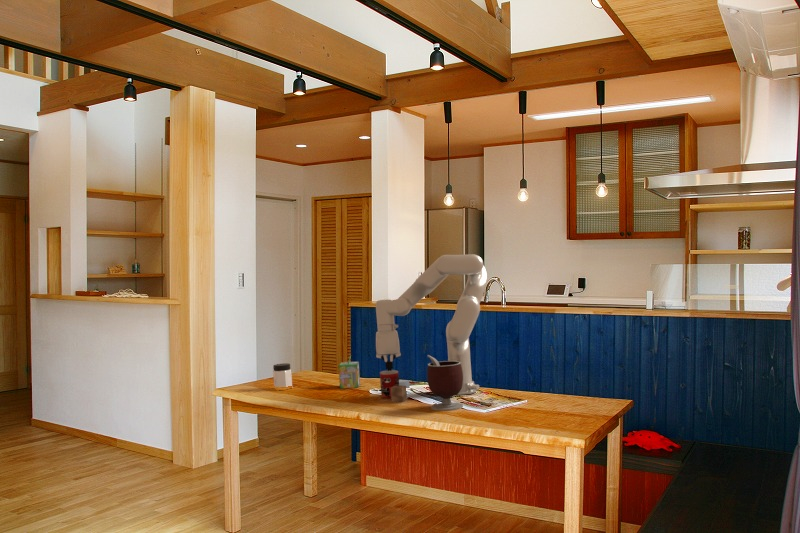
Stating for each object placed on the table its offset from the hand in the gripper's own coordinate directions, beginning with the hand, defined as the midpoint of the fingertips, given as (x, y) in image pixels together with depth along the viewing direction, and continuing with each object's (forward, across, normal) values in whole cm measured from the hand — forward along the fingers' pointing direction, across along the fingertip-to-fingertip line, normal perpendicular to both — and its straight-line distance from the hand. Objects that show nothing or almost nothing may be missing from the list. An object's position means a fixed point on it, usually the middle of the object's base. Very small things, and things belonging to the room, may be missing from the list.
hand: (389, 370), depth 289 cm
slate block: (+12, -4, -10) cm, 16 cm away
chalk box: (+11, +21, -32) cm, 40 cm away
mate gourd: (+12, -22, +28) cm, 38 cm away
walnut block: (+12, -4, +10) cm, 16 cm away
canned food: (+12, 0, 0) cm, 12 cm away
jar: (+11, +55, -38) cm, 67 cm away
